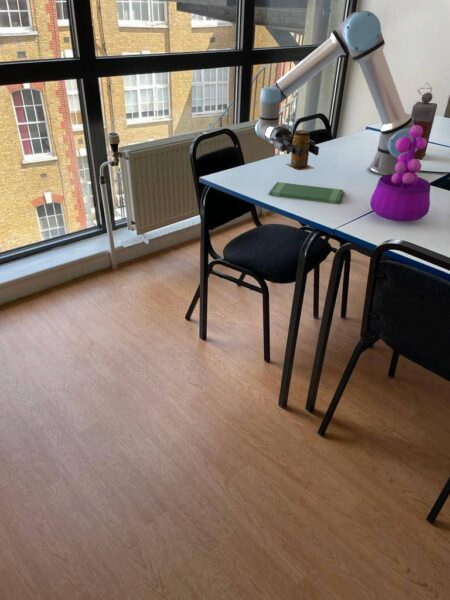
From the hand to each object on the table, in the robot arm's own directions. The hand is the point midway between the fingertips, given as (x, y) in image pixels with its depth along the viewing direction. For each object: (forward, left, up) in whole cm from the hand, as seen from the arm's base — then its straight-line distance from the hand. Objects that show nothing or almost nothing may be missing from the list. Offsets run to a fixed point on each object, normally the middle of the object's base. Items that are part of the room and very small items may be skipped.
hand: (309, 152), depth 157 cm
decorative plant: (-32, +3, -18) cm, 37 cm away
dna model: (-37, -94, -18) cm, 103 cm away
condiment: (+3, -4, -7) cm, 8 cm away
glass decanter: (-38, -79, -18) cm, 90 cm away
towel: (+1, -9, -18) cm, 20 cm away
